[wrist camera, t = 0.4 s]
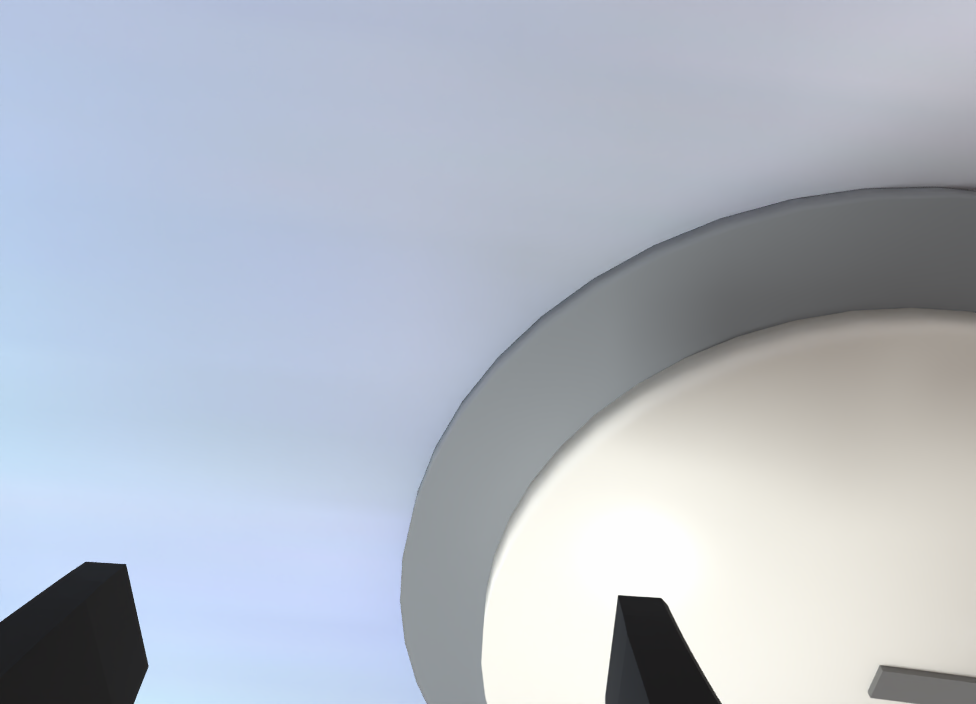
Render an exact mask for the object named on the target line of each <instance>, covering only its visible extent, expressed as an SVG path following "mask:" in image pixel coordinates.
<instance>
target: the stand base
mask: <svg viewBox="0 0 976 704" xmlns="http://www.w3.org/2000/svg"><path fill="white" fill-rule="evenodd" d="M897 308H923V309H938V310H954V311H969V312H975V313H976V191H969V190H960V189H950V188H940V187H923V188H882V189H860V190H853V191H846V192H839V193H833V194H826V195H819V196H812V197H806V198H799V199H792V200H787V201H784V202H780V203H776V204H773V205H769V206H765V207H762V208H758V209H754V210H751V211H747V212H743V213H740V214H736V215H732V216H729V217H725V218H721V219H718V220H716V221H713V222H711V223H708V224H706V225H703V226H701V227H698V228H696V229H694V230H691V231H689V232H686V233H684V234H681V235H679V236H676V237H674V238H671V239H669V240H666V241H664V242H661V243H659V244H656V245H654V246H652V247H650V248H648V249H647V250H645V251H643V252H641V253H639V254H638V255H636V256H634V257H632V258H630V259H628V260H627V261H625V262H623V263H621V264H619V265H618V266H616V267H614V268H612V269H610V270H609V271H607V272H605V273H603V274H601V275H599V276H598V277H596V278H594V279H593V280H591V281H590V282H588V283H587V284H586V285H584V286H583V287H582V288H580V289H579V290H577V291H576V292H575V293H573V294H572V295H570V296H569V297H568V298H566V299H565V300H564V301H562V302H561V303H559V304H558V305H557V306H555V307H554V308H553V309H551V310H550V311H548V312H547V313H546V314H544V315H543V316H542V317H540V318H539V319H538V320H537V321H536V322H535V323H534V324H533V325H532V326H531V327H530V328H529V329H528V330H527V331H526V332H525V333H524V334H522V335H521V336H520V337H519V338H518V339H517V340H516V341H515V342H514V343H513V344H512V345H511V346H510V347H509V348H508V349H507V350H505V351H504V352H503V353H502V354H501V355H500V356H499V357H498V358H497V359H496V361H495V362H494V363H493V364H492V366H491V367H490V368H489V369H488V370H487V372H486V373H485V374H484V375H483V377H482V378H481V379H480V380H479V382H478V383H477V384H476V385H475V387H474V388H473V389H472V390H471V392H470V393H469V394H468V395H467V397H466V398H465V399H464V400H463V401H462V403H461V405H460V407H459V408H458V410H457V412H456V413H455V415H454V417H453V418H452V420H451V422H450V423H449V425H448V427H447V428H446V430H445V432H444V434H443V435H442V437H441V439H440V440H439V442H438V444H437V445H436V447H435V450H434V452H433V455H432V457H431V460H430V462H429V465H428V467H427V470H426V472H425V475H424V477H423V480H422V482H421V485H420V487H419V490H418V493H417V497H416V501H415V505H414V510H413V514H412V518H411V523H410V527H409V532H408V536H407V540H406V545H405V549H404V554H403V559H402V577H401V595H400V604H401V613H402V621H403V630H404V639H405V645H406V648H407V651H408V655H409V658H410V662H411V665H412V669H413V672H414V675H415V679H416V682H417V684H418V686H419V688H420V690H421V693H422V695H423V697H424V699H425V701H426V703H427V704H487V701H486V698H485V691H484V682H483V674H482V666H481V659H482V643H483V626H484V615H485V603H486V592H487V585H488V581H489V577H490V573H491V568H492V564H493V560H494V556H495V552H496V550H497V547H498V545H499V542H500V540H501V538H502V535H503V533H504V530H505V528H506V526H507V523H508V521H509V518H510V516H511V515H512V513H513V511H514V510H515V508H516V507H517V505H518V503H519V502H520V500H521V498H522V497H523V495H524V493H525V492H526V490H527V488H528V487H529V485H530V484H531V482H532V481H533V479H534V478H535V477H536V476H537V475H538V473H539V472H540V471H541V470H542V469H543V467H544V466H545V465H546V464H547V462H548V461H549V460H550V459H551V458H552V456H553V455H554V454H555V453H556V452H557V450H558V449H559V448H560V447H561V446H562V445H563V444H564V443H565V442H566V441H567V440H568V439H569V438H571V437H572V436H573V435H574V434H575V433H576V432H577V431H578V430H579V429H580V428H581V427H582V426H584V425H585V424H586V423H587V422H588V421H589V420H590V419H591V418H592V417H593V416H594V415H595V414H597V413H598V412H600V411H601V410H602V409H604V408H605V407H607V406H608V405H609V404H611V403H612V402H613V401H615V400H616V399H618V398H619V397H620V396H622V395H623V394H625V393H626V392H627V391H629V390H630V389H632V388H633V387H634V386H636V385H637V384H639V383H641V382H643V381H644V380H646V379H648V378H650V377H652V376H654V375H655V374H657V373H659V372H661V371H663V370H664V369H666V368H668V367H670V366H672V365H674V364H675V363H677V362H679V361H681V360H683V359H684V358H687V357H689V356H692V355H694V354H696V353H699V352H701V351H704V350H706V349H709V348H711V347H714V346H716V345H718V344H721V343H723V342H726V341H728V340H731V339H733V338H735V337H738V336H742V335H745V334H749V333H752V332H756V331H759V330H763V329H766V328H770V327H773V326H777V325H780V324H784V323H787V322H791V321H795V320H801V319H807V318H813V317H819V316H825V315H831V314H837V313H843V312H848V311H859V310H878V309H897Z"/></svg>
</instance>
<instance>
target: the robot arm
mask: <svg viewBox="0 0 976 704" xmlns="http://www.w3.org/2000/svg"><path fill="white" fill-rule="evenodd" d="M147 669H148V662H147V657H146V653H145V648H144V644H143V639H142V635H141V630H140V626H139V621H138V616H137V612H136V607H135V603H134V598H133V594H132V589H131V585H130V580H129V576H128V571H127V567H126V564H113V563H97V562H85V563H83V564H82V565H80V566H79V567H77V568H76V569H74V570H73V571H71V572H70V573H68V574H67V575H65V576H64V577H63V578H61V579H60V580H58V581H57V582H55V583H54V584H53V585H51V586H50V587H48V588H47V589H46V590H44V591H43V592H41V593H40V594H39V595H37V596H36V597H34V598H33V599H32V600H30V601H29V602H28V603H26V604H25V605H23V606H22V607H21V608H19V609H18V610H16V611H15V612H14V613H12V614H11V615H10V616H8V617H7V618H5V619H4V620H3V621H1V622H0V704H134V702H135V699H136V696H137V694H138V691H139V689H140V686H141V684H142V681H143V679H144V676H145V674H146V671H147ZM605 704H722V703H721V701H720V700H719V698H718V697H717V695H716V693H715V692H714V690H713V688H712V687H711V685H710V683H709V682H708V680H707V678H706V676H705V675H704V673H703V671H702V669H701V668H700V666H699V664H698V662H697V661H696V659H695V657H694V655H693V654H692V652H691V650H690V648H689V646H688V644H687V642H686V641H685V639H684V637H683V635H682V633H681V631H680V629H679V627H678V625H677V623H676V621H675V619H674V617H673V615H672V613H671V611H670V609H669V607H668V605H667V604H666V603H665V601H664V600H663V599H662V598H657V597H641V596H625V595H618V599H617V607H616V615H615V623H614V630H613V638H612V646H611V654H610V662H609V670H608V677H607V685H606V693H605Z"/></svg>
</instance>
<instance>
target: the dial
mask: <svg viewBox="0 0 976 704" xmlns="http://www.w3.org/2000/svg"><path fill="white" fill-rule="evenodd" d="M618 595H625V596H641V597H657V598H662V599H663V600H664V601H665V603H666V604H667V605H668V607H669V609H670V611H671V613H672V615H673V617H674V619H675V621H676V623H677V625H678V627H679V629H680V631H681V633H682V635H683V637H684V639H685V641H686V642H687V644H688V646H689V648H690V650H691V652H692V654H693V655H694V657H695V659H696V661H697V662H698V664H699V666H700V668H701V669H702V671H703V673H704V675H705V676H706V678H707V680H708V682H709V683H710V685H711V687H712V688H713V690H714V692H715V693H716V695H717V697H718V698H719V700H720V701H721V703H722V704H976V313H975V312H969V311H954V310H938V309H923V308H897V309H878V310H859V311H848V312H843V313H837V314H831V315H825V316H819V317H813V318H807V319H801V320H795V321H791V322H787V323H784V324H780V325H777V326H773V327H770V328H766V329H763V330H759V331H756V332H752V333H749V334H745V335H742V336H738V337H735V338H733V339H731V340H728V341H726V342H723V343H721V344H718V345H716V346H714V347H711V348H709V349H706V350H704V351H701V352H699V353H696V354H694V355H692V356H689V357H687V358H684V359H683V360H681V361H679V362H677V363H675V364H674V365H672V366H670V367H668V368H666V369H664V370H663V371H661V372H659V373H657V374H655V375H654V376H652V377H650V378H648V379H646V380H644V381H643V382H641V383H639V384H637V385H636V386H634V387H633V388H632V389H630V390H629V391H627V392H626V393H625V394H623V395H622V396H620V397H619V398H618V399H616V400H615V401H613V402H612V403H611V404H609V405H608V406H607V407H605V408H604V409H602V410H601V411H600V412H598V413H597V414H595V415H594V416H593V417H592V418H591V419H590V420H589V421H588V422H587V423H586V424H585V425H584V426H582V427H581V428H580V429H579V430H578V431H577V432H576V433H575V434H574V435H573V436H572V437H571V438H569V439H568V440H567V441H566V442H565V443H564V444H563V445H562V446H561V447H560V448H559V449H558V450H557V452H556V453H555V454H554V455H553V456H552V458H551V459H550V460H549V461H548V462H547V464H546V465H545V466H544V467H543V469H542V470H541V471H540V472H539V473H538V475H537V476H536V477H535V478H534V479H533V481H532V482H531V484H530V485H529V487H528V488H527V490H526V492H525V493H524V495H523V497H522V498H521V500H520V502H519V503H518V505H517V507H516V508H515V510H514V511H513V513H512V515H511V516H510V518H509V521H508V523H507V526H506V528H505V530H504V533H503V535H502V538H501V540H500V542H499V545H498V547H497V550H496V552H495V556H494V560H493V564H492V568H491V573H490V577H489V581H488V585H487V592H486V603H485V615H484V626H483V643H482V659H481V666H482V674H483V682H484V691H485V698H486V701H487V704H605V693H606V685H607V677H608V670H609V662H610V654H611V646H612V638H613V630H614V623H615V615H616V607H617V599H618Z"/></svg>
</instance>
